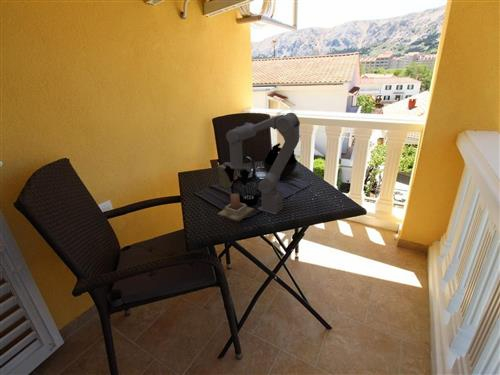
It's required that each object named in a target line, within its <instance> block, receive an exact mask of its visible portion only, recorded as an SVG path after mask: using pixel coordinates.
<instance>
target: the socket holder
mask: <svg viewBox="0 0 500 375" xmlns="http://www.w3.org/2000/svg"><path fill="white" fill-rule="evenodd" d="M254 211H255V208H253V207H249V206H248V205H247V204H246V203H243V202H240V209H238V210H235V209H231V203H228V204H227V205H225V206H224V209H221V211H219V212H218V213H217V216H221V217H223V218H226V219H228V220H232V221H235V222H241V221H242V220H244V219H245V218H246V217H248V216H249V215H251V213H253V212H254Z"/></svg>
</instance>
